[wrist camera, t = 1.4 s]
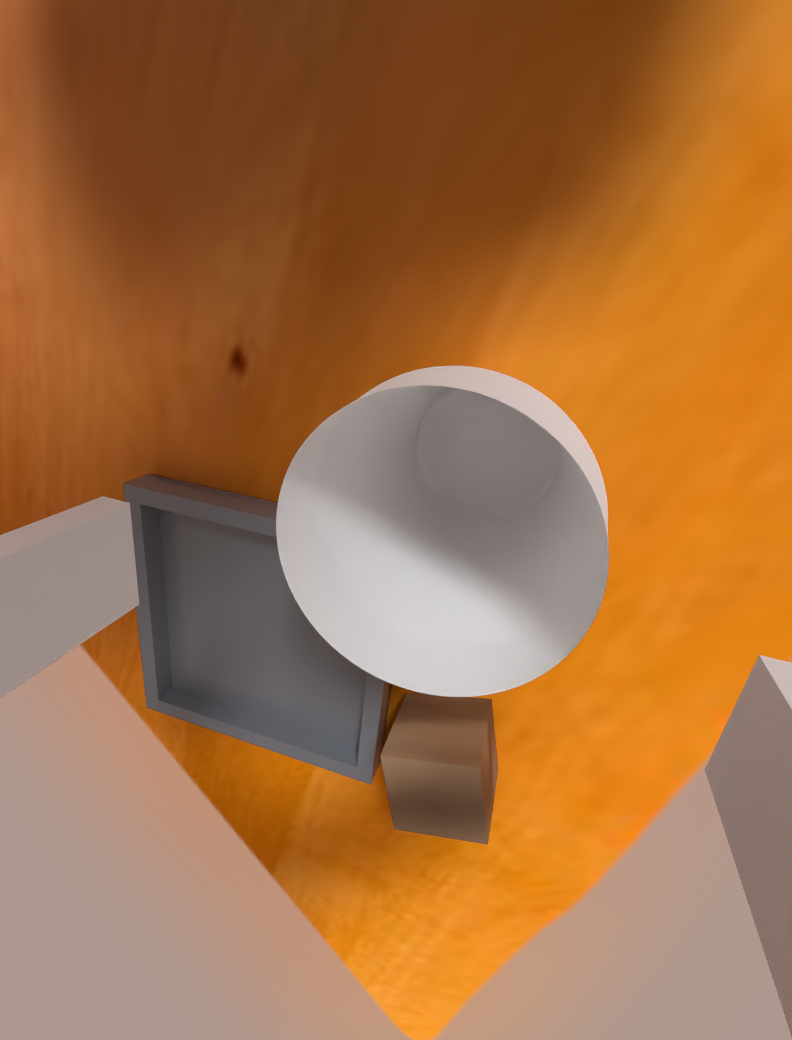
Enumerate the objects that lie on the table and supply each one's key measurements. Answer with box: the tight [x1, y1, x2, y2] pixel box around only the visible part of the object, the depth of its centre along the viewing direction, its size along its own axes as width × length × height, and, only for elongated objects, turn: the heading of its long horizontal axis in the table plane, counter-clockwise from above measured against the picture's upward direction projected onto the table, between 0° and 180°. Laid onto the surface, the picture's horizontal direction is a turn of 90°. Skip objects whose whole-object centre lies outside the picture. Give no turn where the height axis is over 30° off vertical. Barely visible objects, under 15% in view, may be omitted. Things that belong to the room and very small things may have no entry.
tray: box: [123, 474, 391, 785], centre depth 31 cm, size 16×16×2 cm
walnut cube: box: [380, 693, 498, 844], centre depth 28 cm, size 5×5×5 cm
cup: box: [276, 366, 609, 697], centre depth 19 cm, size 9×9×12 cm
